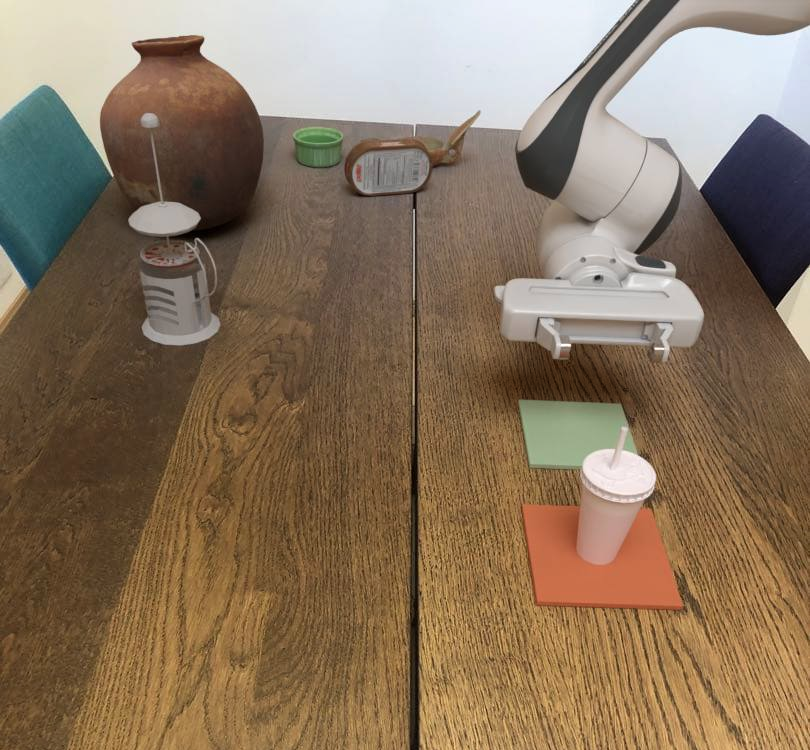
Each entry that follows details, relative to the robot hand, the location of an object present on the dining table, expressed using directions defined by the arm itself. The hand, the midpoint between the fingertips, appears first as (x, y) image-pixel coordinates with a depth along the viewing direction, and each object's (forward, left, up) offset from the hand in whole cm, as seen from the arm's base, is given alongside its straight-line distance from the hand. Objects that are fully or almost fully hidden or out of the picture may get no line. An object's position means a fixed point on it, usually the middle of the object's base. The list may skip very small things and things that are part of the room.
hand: (611, 354), depth 78 cm
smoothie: (+1, +14, -13) cm, 19 cm away
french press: (+47, -25, -14) cm, 55 cm away
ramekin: (+35, -87, -14) cm, 95 cm away
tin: (+22, -73, -14) cm, 78 cm away
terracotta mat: (+1, +14, -13) cm, 19 cm away
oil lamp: (+17, -88, -14) cm, 91 cm away
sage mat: (0, -5, -13) cm, 14 cm away
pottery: (+52, -58, -14) cm, 79 cm away
